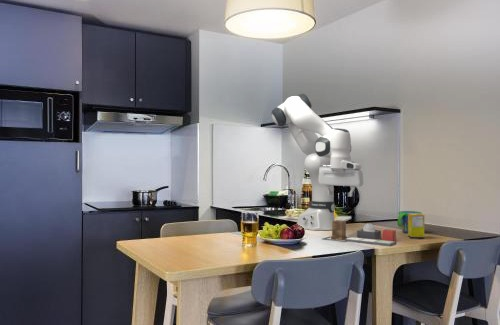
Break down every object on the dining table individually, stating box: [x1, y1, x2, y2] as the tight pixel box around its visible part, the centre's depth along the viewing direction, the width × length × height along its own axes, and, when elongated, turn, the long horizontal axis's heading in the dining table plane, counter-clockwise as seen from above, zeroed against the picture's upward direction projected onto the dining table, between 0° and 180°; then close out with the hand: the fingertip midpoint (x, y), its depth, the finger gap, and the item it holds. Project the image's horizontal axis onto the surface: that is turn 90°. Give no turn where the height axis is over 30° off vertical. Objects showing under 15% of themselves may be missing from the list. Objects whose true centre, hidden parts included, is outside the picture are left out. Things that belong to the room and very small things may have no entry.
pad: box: [321, 235, 351, 243], centre depth 201 cm, size 11×11×1 cm
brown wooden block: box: [330, 219, 348, 241], centre depth 201 cm, size 5×5×8 cm
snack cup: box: [397, 210, 423, 234], centre depth 223 cm, size 16×10×10 cm
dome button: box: [362, 222, 376, 232], centre depth 203 cm, size 5×5×6 cm
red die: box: [381, 228, 397, 242], centre depth 198 cm, size 4×4×5 cm
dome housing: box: [356, 228, 382, 240], centre depth 203 cm, size 8×8×4 cm
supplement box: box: [407, 212, 425, 240], centre depth 207 cm, size 6×6×11 cm
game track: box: [344, 236, 397, 247], centre depth 193 cm, size 20×8×1 cm, turn 54°
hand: (340, 196), depth 201 cm, fingers open, 8 cm apart
